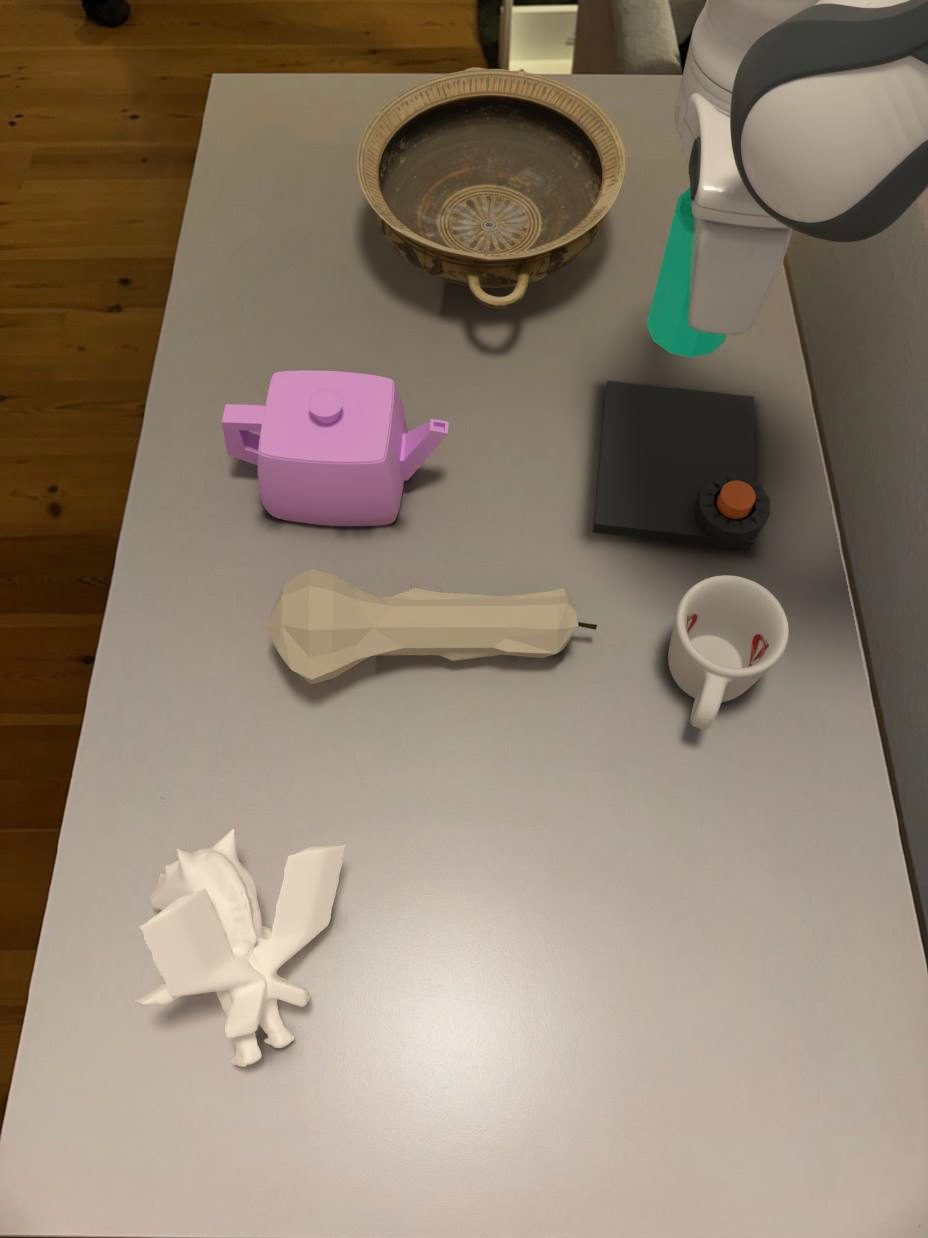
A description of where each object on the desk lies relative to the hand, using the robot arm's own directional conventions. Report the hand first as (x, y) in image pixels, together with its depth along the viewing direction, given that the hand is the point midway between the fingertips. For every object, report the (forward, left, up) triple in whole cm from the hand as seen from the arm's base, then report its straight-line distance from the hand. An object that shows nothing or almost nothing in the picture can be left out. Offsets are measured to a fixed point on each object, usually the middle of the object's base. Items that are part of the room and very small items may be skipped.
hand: (701, 277), depth 71 cm
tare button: (-6, +7, -17) cm, 20 cm away
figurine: (+26, +46, -20) cm, 56 cm away
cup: (-5, +22, -20) cm, 30 cm away
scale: (-2, +2, -20) cm, 20 cm away
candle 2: (+16, +22, -20) cm, 34 cm away
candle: (0, 0, -5) cm, 5 cm away
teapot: (+26, +7, -20) cm, 33 cm away
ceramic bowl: (+17, -22, -20) cm, 34 cm away
